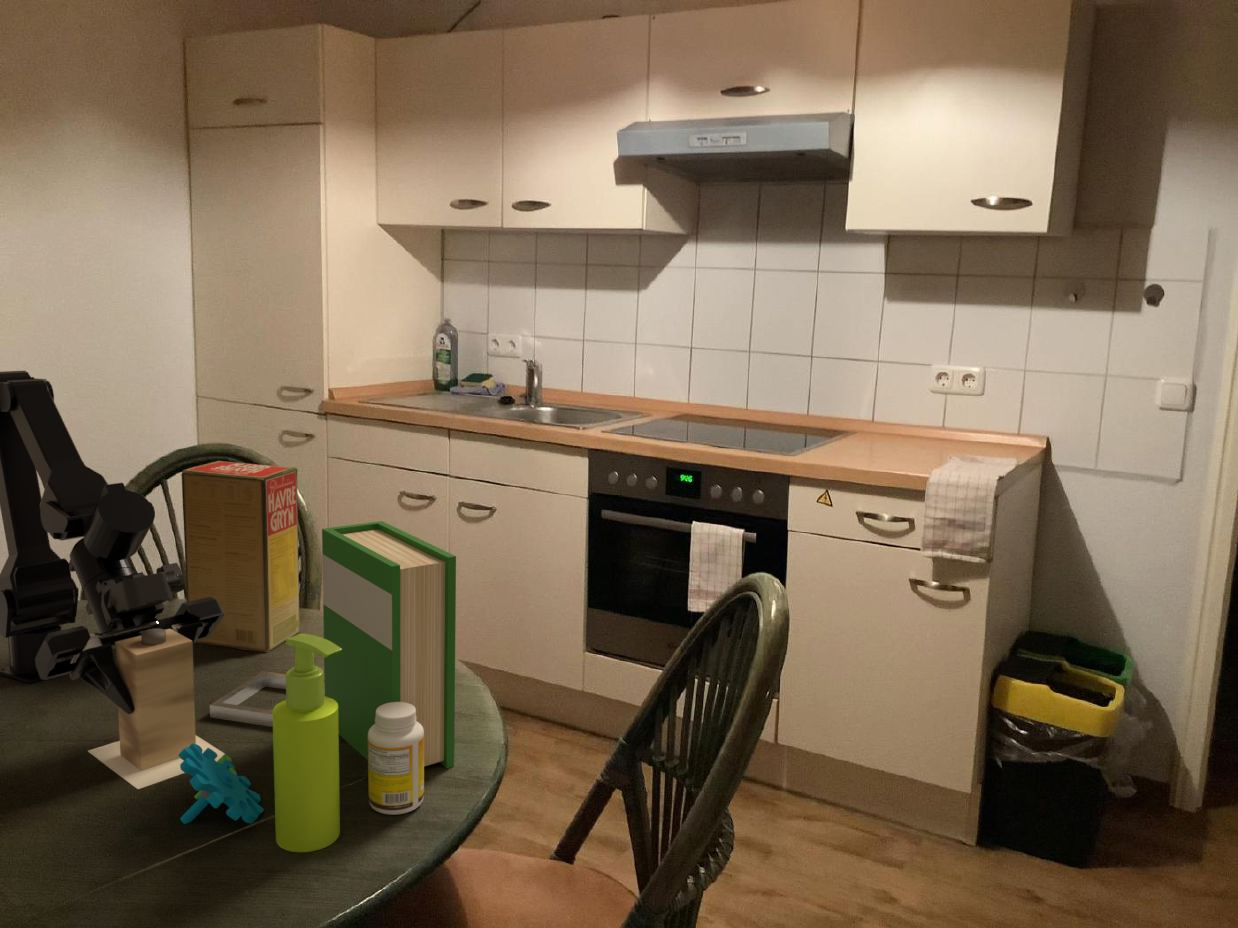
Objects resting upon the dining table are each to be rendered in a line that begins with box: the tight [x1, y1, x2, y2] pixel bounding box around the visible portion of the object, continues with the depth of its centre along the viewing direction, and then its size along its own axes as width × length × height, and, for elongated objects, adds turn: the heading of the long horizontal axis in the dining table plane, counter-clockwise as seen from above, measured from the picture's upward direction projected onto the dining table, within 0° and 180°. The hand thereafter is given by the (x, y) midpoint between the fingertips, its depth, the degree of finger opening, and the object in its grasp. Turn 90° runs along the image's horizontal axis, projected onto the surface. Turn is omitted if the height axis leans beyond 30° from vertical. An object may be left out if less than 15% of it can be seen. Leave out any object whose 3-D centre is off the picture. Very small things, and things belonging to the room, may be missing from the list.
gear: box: [178, 743, 265, 825], centre depth 100 cm, size 11×6×10 cm
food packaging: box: [180, 460, 301, 653], centre depth 146 cm, size 13×9×25 cm
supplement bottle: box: [367, 702, 425, 816], centre depth 103 cm, size 6×6×10 cm
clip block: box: [114, 629, 197, 771], centre depth 111 cm, size 5×6×14 cm
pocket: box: [209, 670, 325, 728], centre depth 125 cm, size 11×11×2 cm
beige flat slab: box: [87, 734, 225, 790], centre depth 112 cm, size 12×10×1 cm
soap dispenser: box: [272, 633, 342, 853], centre depth 96 cm, size 6×7×20 cm
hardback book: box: [321, 520, 457, 769], centre depth 115 cm, size 18×7×24 cm, turn 39°
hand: (161, 703), depth 110 cm, fingers closed on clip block, 6 cm apart
